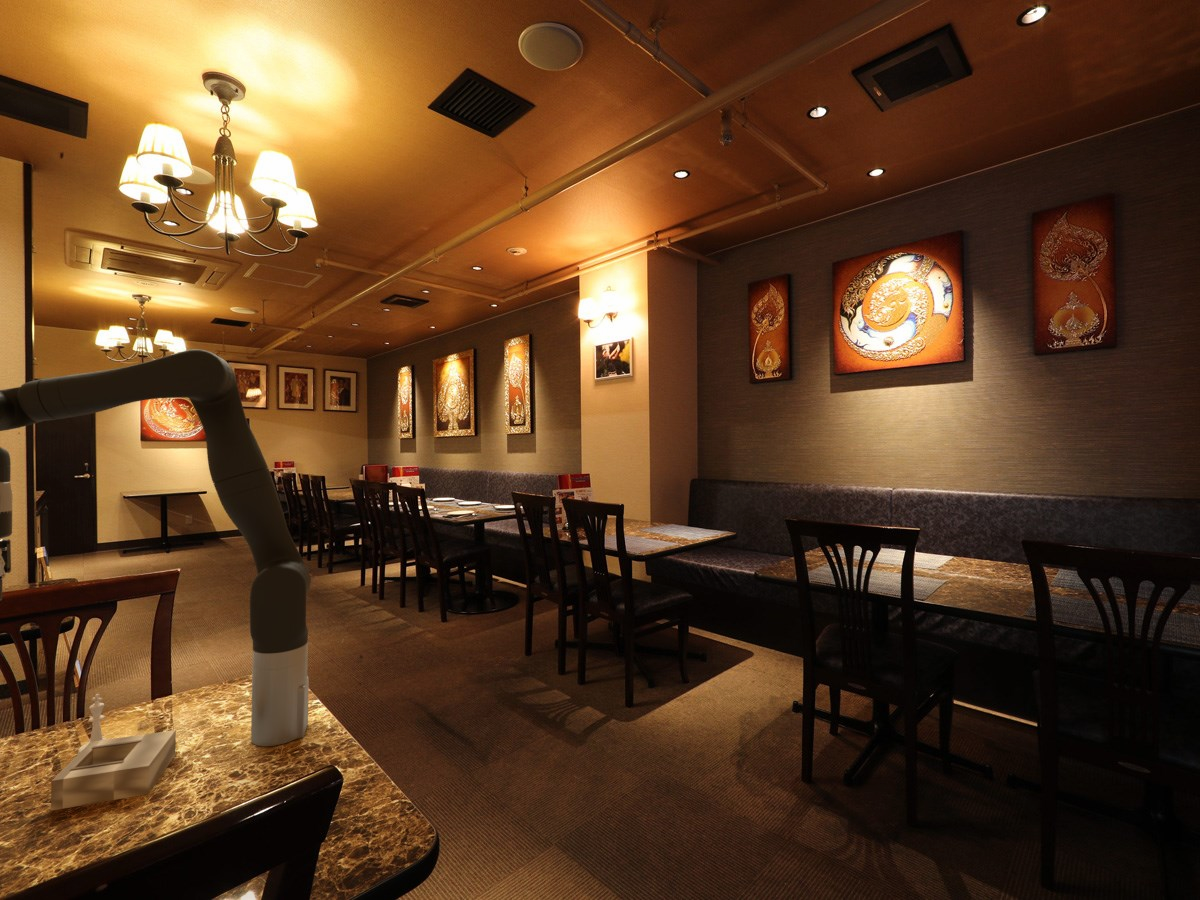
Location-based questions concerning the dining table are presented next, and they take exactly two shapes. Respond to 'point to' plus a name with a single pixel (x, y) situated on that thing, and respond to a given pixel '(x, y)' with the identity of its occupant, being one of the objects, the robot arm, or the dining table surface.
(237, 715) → the dining table surface
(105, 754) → the socket block
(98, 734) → the chess piece
